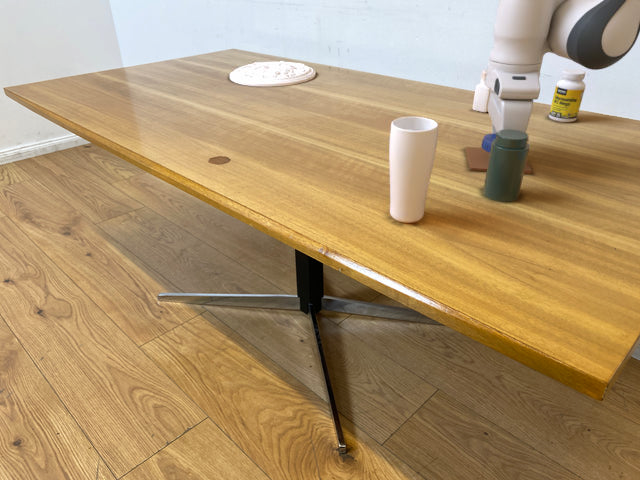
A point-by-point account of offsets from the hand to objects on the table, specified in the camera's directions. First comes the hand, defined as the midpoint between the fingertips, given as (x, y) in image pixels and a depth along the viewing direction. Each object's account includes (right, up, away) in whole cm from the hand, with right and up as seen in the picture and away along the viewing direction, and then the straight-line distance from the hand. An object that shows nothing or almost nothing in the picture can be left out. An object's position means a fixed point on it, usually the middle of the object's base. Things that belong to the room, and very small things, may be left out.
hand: (498, 150), depth 94 cm
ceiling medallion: (-50, +36, +65) cm, 90 cm away
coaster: (0, -2, +1) cm, 2 cm away
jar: (-4, -10, -11) cm, 15 cm away
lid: (0, +2, -1) cm, 2 cm away
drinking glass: (-21, -14, -17) cm, 30 cm away
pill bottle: (+24, +12, +23) cm, 35 cm away
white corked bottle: (+7, +15, +30) cm, 34 cm away
